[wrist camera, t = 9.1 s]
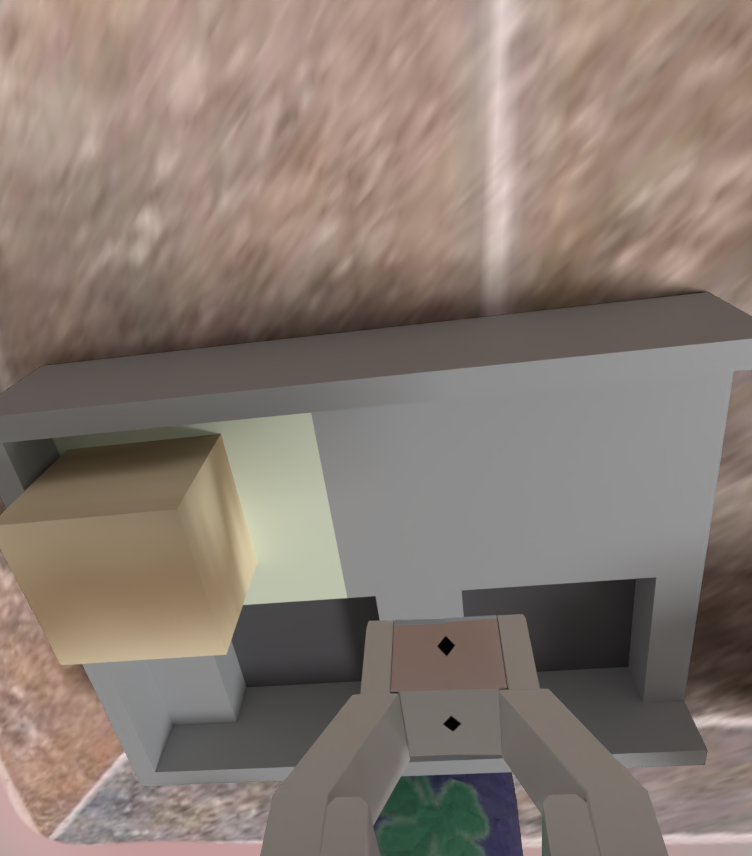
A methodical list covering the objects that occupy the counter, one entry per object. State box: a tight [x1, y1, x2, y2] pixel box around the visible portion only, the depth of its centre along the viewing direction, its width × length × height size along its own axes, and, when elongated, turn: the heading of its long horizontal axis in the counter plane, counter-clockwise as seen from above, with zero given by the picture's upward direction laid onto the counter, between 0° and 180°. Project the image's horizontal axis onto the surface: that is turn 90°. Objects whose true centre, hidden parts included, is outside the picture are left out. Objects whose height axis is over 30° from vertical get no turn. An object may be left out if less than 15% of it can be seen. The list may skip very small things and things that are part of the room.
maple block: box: [0, 434, 257, 665], centre depth 18 cm, size 5×5×4 cm
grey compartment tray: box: [0, 292, 752, 786], centre depth 21 cm, size 16×21×4 cm
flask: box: [373, 772, 523, 856], centre depth 23 cm, size 9×3×11 cm, turn 71°
